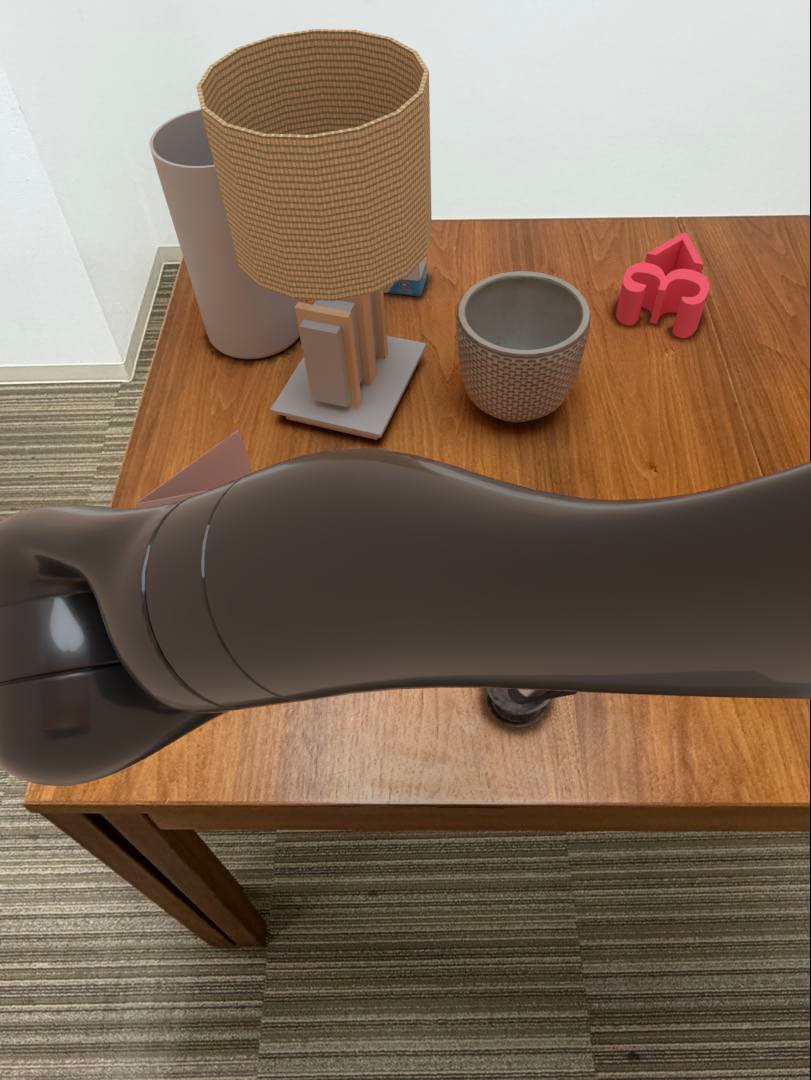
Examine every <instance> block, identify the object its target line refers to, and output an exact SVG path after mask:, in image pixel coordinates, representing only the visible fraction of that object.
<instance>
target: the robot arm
mask: <svg viewBox="0 0 811 1080" xmlns="http://www.w3.org/2000/svg"><path fill="white" fill-rule="evenodd" d="M448 688H449V689H468V688H469V689H486V688H502V689H508V695H509V697H510V698H511V699H512V701H514V702H515V703H517V704H526V703H531V702H537V701H542V700H547V699H551V700H553V699H558V698H563V697H567V696H574V695H576V694H578V693H594V694H615V695H618V694H619V695H637V696H640V695H641V696H661V697H662V696H663V697H697V698H729V699H730V698H733V699H778V700H781V699H782V700H783V699H784V700H811V460H810V461H807V462H804V463H801V464H798V465H795V466H792V467H789V468H786V469H783V470H778V471H774V472H771V473H768V474H764V475H760V476H757V477H753V478H750V479H746V480H743V481H739V482H736V483H735V482H734V483H732V484H731V483H730V484H728V485H725V486H719V487H715V488H711V489H706V490H701V491H697V492H692V493H685V494H677V495H669V496H661V497H652V498H634V499H633V498H632V499H600V498H585V497H580V496H579V497H578V496H573V495H567V494H562V493H556V492H555V493H554V492H549V491H543V490H538V489H533V488H530V487H526V486H523V485H519V484H515V483H511V482H507V481H503V480H500V479H496V478H495V477H491V476H488V475H484V474H481V473H479V472H475V471H473V470H469V469H466V468H463V467H461V466H457V465H453V464H451V463H446V462H442V461H439V460H435V459H432V458H428V457H424V456H420V455H417V454H413V453H407V452H402V451H397V450H396V451H395V450H390V449H385V448H384V449H383V448H366V447H365V448H364V447H356V448H340V449H333V450H331V449H330V450H324V451H319V452H313V453H308V454H303V455H299V456H295V457H293V458H289V459H285V460H283V461H279V462H277V463H275V464H271V465H269V466H266V467H263V468H261V469H258V470H256V471H252V473H250V474H248V475H245V476H243V477H240V478H238V479H235V480H233V481H230V482H228V483H225V484H222V485H220V486H217V487H215V488H212V489H210V490H207V491H205V492H202V493H199V494H197V495H194V496H192V497H189V498H187V499H184V500H181V501H178V502H174V503H170V504H166V505H160V506H155V507H147V508H136V507H134V508H129V507H128V508H126V507H124V508H123V507H113V506H105V505H103V506H102V505H93V504H92V505H91V504H55V505H54V504H52V505H43V506H36V507H33V508H28V509H24V510H20V511H18V512H15V513H13V514H11V515H9V516H7V517H5V518H3V519H1V520H0V768H1V769H2V770H4V771H5V772H6V773H8V774H9V775H12V776H14V777H15V778H18V779H19V780H22V781H25V782H28V783H31V784H35V785H40V786H49V787H70V786H77V785H83V784H88V783H91V782H95V781H98V780H101V779H104V778H107V777H109V776H112V775H116V774H117V773H119V772H121V771H124V770H125V769H127V768H129V767H131V766H133V765H135V764H138V763H140V762H142V761H144V760H145V759H147V758H150V757H151V756H153V755H154V754H156V753H158V752H159V751H161V750H163V749H165V748H167V747H168V746H170V745H171V744H173V743H175V742H177V741H178V740H180V739H182V738H183V737H185V736H187V735H188V734H190V733H192V732H193V731H195V730H197V729H198V728H200V727H202V726H204V725H207V724H208V723H209V722H211V721H213V720H215V719H217V718H219V717H221V716H223V715H225V714H227V713H230V712H235V711H242V710H248V709H250V710H251V709H255V708H257V709H258V708H262V707H270V706H278V705H284V704H286V705H287V704H292V703H299V702H306V701H313V700H321V699H327V698H334V697H340V696H347V695H352V694H353V695H355V694H363V693H365V694H366V693H374V692H375V693H376V692H385V691H387V692H388V691H397V690H417V689H418V690H419V689H448Z"/></svg>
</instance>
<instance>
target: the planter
mask: <svg viewBox="0 0 811 1080" xmlns="http://www.w3.org/2000/svg"><path fill="white" fill-rule="evenodd" d="M591 317H592V315H591V309H590V305H589V303H588V300H587V299H586V298H585V296H584V294H582V292H581V291H580V290H579V289H578V288H576V287H575V286H574V285H572V284H571V283H569V282H567V281H566V280H564V279H562V278H560V277H557V276H554V275H551V274H548V273H545V272H537V271H531V270H528V271H527V270H515V271H506V272H500V273H497V274H493V275H491V276H488V277H485V278H483V279H481V280H479V281H477V282H476V283H474V284H473V285H471V286H470V287H469V288H468V289H467V290H466V291H465V292H464V293H463V295H462V296H461V298H460V300H459V302H458V306H457V310H456V338H457V339H456V340H457V354H458V355H457V356H458V363H459V370H460V375H461V380H462V384H463V388H464V390H465V393H466V394H467V396H468V398H469V399H470V400H471V402H472V403H473V404H474V405H475V407H477V408H478V409H479V410H481V411H482V412H483V413H485V414H486V415H489V416H491V417H493V418H496V419H498V420H500V421H503V422H506V423H513V424H517V423H526V422H529V421H534V420H537V419H538V420H539V419H541V418H543V417H546V416H548V415H550V414H551V413H553V412H555V411H556V410H557V409H558V408H560V406H562V404H563V403H564V402H565V401H566V400H567V398H568V397H569V395H570V393H571V391H572V389H573V387H574V385H575V382H576V379H577V376H578V373H579V370H580V368H581V364H582V361H583V357H584V354H585V349H586V345H587V341H588V337H589V334H590V329H591Z"/></svg>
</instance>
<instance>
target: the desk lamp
mask: <svg viewBox="0 0 811 1080" xmlns="http://www.w3.org/2000/svg"><path fill="white" fill-rule="evenodd" d="M195 88H196V93H197V98H198V102H199V106H200V109H201V111H202V115H203V119H204V123H205V128H206V132H207V136H208V140H209V144H210V148H211V152H212V157H213V161H214V165H215V169H216V173H217V177H218V181H219V185H220V190H221V194H222V198H223V202H224V206H225V210H226V214H227V218H228V223H229V227H230V231H231V235H232V239H233V243H234V247H235V251H236V256H237V260H238V264H239V268H240V269H241V270H242V271H243V272H244V273H245V274H246V275H247V276H248V277H250V278H251V279H252V280H253V281H254V282H255V283H256V284H257V285H258V286H259V287H261V288H264V289H267V290H270V291H272V292H275V293H278V294H281V295H284V296H286V297H289V298H292V299H301V300H305V301H306V300H307V301H310V300H311V302H312V304H311V303H307V302H303V301H302V302H298V303H297V305H296V306H295V313H296V318H297V323H298V329H299V334H300V336H299V339H300V344H301V349H302V355H303V357H302V358H301V359H300V361H299V363H298V364H297V366H296V368H295V369H294V371H293V372H292V374H291V376H290V378H289V379H288V380H287V382H286V383H285V386H284V387H283V388H282V390H281V392H280V393H279V395H278V397H276V399H275V401H274V403H273V404H272V406H271V408H270V413H271V414H276V415H279V416H282V417H283V416H284V417H285V419H286V420H287V421H288V420H289V421H294V422H298V423H301V424H306V425H310V426H315V427H319V428H323V429H327V430H332V431H337V432H340V433H345V434H350V435H353V436H359V437H362V438H367V439H370V440H374V441H378V439H381V438H382V437H383V434H384V432H385V431H386V429H387V427H388V425H389V422H390V421H391V419H392V417H393V414H394V413H395V410H396V409H397V407H398V405H399V403H400V401H401V399H402V397H403V395H404V393H405V390H406V389H407V387H408V385H409V383H410V381H411V379H412V377H413V375H414V372H415V371H416V369H417V367H418V364H419V363H420V361H421V359H422V357H423V354H424V353H425V350H426V349H427V346H428V344H427V342H423V341H421V342H420V341H417V340H411V339H407V338H401V337H397V336H391V335H387V334H388V333H387V322H386V309H385V308H386V307H385V297H384V296H385V295H384V294H385V293H383V288H385V287H387V286H389V285H391V284H393V283H395V282H397V281H399V280H401V279H403V278H405V277H407V276H408V275H409V274H410V273H411V272H412V271H413V270H414V268H415V267H416V266H417V265H418V264H419V263H420V262H421V261H422V260H423V259H424V258H425V257H426V258H427V256H428V253H429V252H428V251H429V248H430V243H431V238H432V233H433V229H432V227H433V225H432V220H433V219H432V173H431V172H432V171H431V170H432V169H431V168H432V167H431V165H432V164H431V163H432V162H431V115H430V114H431V112H430V109H431V107H430V105H431V104H430V70H429V68H428V67H427V64H426V63H425V61H424V59H423V58H422V57H421V55H420V53H419V52H418V51H417V50H416V49H414V48H412V47H410V46H408V45H406V44H404V43H403V42H401V41H399V40H397V39H395V38H393V37H391V36H387V35H381V34H377V33H372V32H368V31H363V30H357V29H334V28H333V29H331V28H330V29H328V28H327V29H326V28H322V29H321V28H313V29H307V30H301V31H300V30H299V31H294V32H286V33H280V34H273V35H270V36H268V37H267V36H266V37H265V38H262V39H259V40H255V41H253V42H250V43H248V44H244V45H242V46H238V47H236V48H234V49H233V50H231V51H229V52H228V53H227V54H225V55H224V56H222V57H220V58H219V59H218V60H216V61H214V62H213V63H211V64H210V65H209V66H208V67H207V69H206V70H205V72H204V74H203V75H202V76H201V78H200V80H199V81H198V83H197V85H196V87H195Z"/></svg>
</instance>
